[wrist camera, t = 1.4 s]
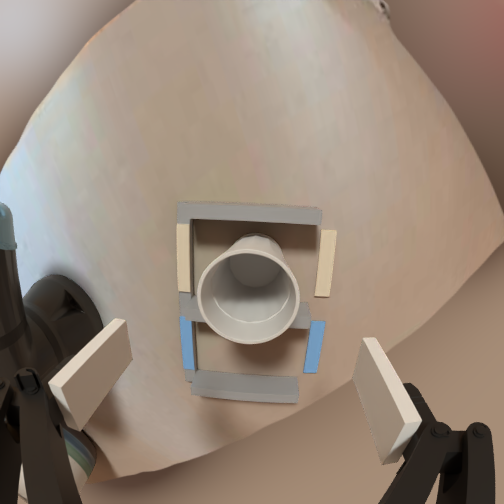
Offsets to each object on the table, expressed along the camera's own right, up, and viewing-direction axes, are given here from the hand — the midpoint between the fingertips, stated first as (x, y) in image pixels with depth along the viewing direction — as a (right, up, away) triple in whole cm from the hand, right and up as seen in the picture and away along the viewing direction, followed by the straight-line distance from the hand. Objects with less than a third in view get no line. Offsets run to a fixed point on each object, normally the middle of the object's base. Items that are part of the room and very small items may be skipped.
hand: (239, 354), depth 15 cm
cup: (+1, +5, +19) cm, 20 cm away
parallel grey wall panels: (0, -1, +20) cm, 20 cm away
